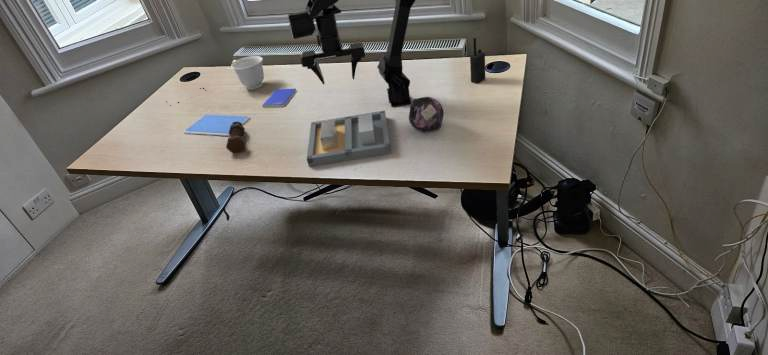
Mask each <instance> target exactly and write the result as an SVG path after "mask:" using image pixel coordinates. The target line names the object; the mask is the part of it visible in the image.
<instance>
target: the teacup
mask: <svg viewBox="0 0 768 355" xmlns="http://www.w3.org/2000/svg"><path fill="white" fill-rule="evenodd" d="M263 61H264V58H263V57H262V56H259V55H251V56H246V57H242V58H239V59H237V60H236V59H234V60H232V62H231V65H230V67H231V68H232V70H234V71H235V74H236V75H237V76H236V77H237V78H238V80H239V82H240V83H241V84H242V85H243V86H245V87H247V90H257V89H259V88H261V87H262V86H263V83H262V82H263V81H264V79H265V73H264V69H263V68H264V67H263Z"/></svg>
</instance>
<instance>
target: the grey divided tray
mask: <svg viewBox="0 0 768 355" xmlns="http://www.w3.org/2000/svg"><path fill="white" fill-rule="evenodd" d="M332 119H333V118H331V119H328V120H332ZM334 119H335V122H336V126H337V131H338V133H337V148H334V149H328V150H323V148H322V144H321V140H320V133H321V122H322V121H326V120H327V119H325V120H317V121H312V122H311V123H310V130H309V137H308V138H309V139H308V145H307V153H306V161H307V165H308V167H316V166H322V165H326V164H327V165H328V164H333V163H340V162H345V161H352V160H358V159H364V158H372V157H378V156H384V155H390V154H392V149H391V142H390V136H389V128H388V123H387V117H386V110H381V111H374V112H367V113H362V114H361V113H360V114H354V115H349V116H343V117H338V118H337V117H336V118H334Z"/></svg>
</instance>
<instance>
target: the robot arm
mask: <svg viewBox="0 0 768 355" xmlns="http://www.w3.org/2000/svg"><path fill="white" fill-rule="evenodd" d="M339 1H340V0H307V3H306V6H305V9H304V11H299V12H294V13H293V12H291V13H288V14H287V17H288V22H289V30H290V33H291V36H292V39H293V40H298V39H302V38H306V37H310V36H313V35H314V34H315V31H316V29H317V33H318V34H317V35H316V41H317V46H319V47H321V51H322V52H317V53H316V51H315V49H314V50H313V49H312V50H306V51H303V52H302V53H301V56H300V62H301V67H302V68H307V70H311V71H312V72H313V73H314V74H315V75H316V77H317V78H318V79H319V80H320V82H321V83H322V85H325V78H324V76H323V71H322V69H321V67H320V63H319V61H321V60H322V61H323V60H327V59H328V60H329V59H333V58H340V57H346V56H350V61H351V62H350V63H351V78H352V80H355V77H356V70H357V65H358V62H360V61H362V59H363V58H365V57H366V51H365V44H364V43H363V42H361V41H360V42H355V43H350V47H348V48H343V43H342V39H341V37H340V33H339V29H338V24H337V19H336V15H337V14H341V13H342V10H341V9H340V7H338V6H336V5H335V4H336V3H338V2H339ZM394 1H395V6H394V13H393V17H392V21H391V22H392V23H391V27H390V28H391V29H390V33H389V40H388V43H387V50H386V52H385V54H384V55H379V57H378V58H379V59H378V60H379V61H378V65H377V67H376V69H378V73H379V75H380V76H381V78H382V79H383V80H384V82H386V84H387V85H388V87H387V88H386V90H387V91H386V92H387V97H388V102H389V104H390V106H391V107H393V108H394V107H399V106H406V105H411V102H412V100H411V96H410V88H409V87H410V84H411V80H410V78H408V76H406V75H405V73H404V72H403V60H402V54H403V48H404V43H405V39H406V34H407V28H408V23H409V18H410V14H411V9H412V7H413V5H414V4H415V2H416V0H394ZM314 21H315V22H314Z"/></svg>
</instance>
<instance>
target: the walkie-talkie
mask: <svg viewBox="0 0 768 355" xmlns="http://www.w3.org/2000/svg"><path fill="white" fill-rule="evenodd" d="M469 61H470V62H469V64H470V82H471V83H473V84H480V83H482V82H483V81H485V80H486V53H485V52H483V51H482V49H481V48H478V51H477V38H476V37H473V53H472V54H471V55H470V56H469Z"/></svg>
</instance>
